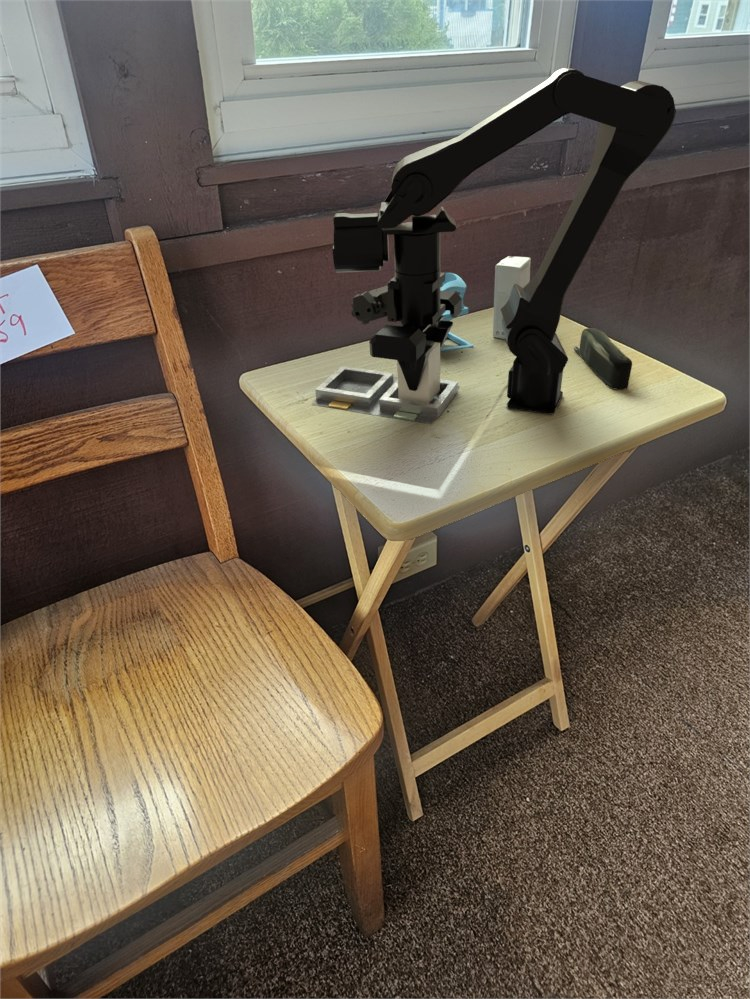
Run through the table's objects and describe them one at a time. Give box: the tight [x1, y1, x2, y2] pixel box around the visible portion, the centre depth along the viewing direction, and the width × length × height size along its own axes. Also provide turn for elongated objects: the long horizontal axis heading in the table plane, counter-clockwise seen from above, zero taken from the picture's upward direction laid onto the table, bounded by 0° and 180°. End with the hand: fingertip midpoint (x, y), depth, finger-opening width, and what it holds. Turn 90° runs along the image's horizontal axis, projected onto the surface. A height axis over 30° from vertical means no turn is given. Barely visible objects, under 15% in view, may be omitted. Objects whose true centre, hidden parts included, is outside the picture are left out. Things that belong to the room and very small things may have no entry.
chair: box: [440, 272, 474, 352], centre depth 107 cm, size 8×8×12 cm
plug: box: [396, 340, 441, 403], centre depth 92 cm, size 5×4×7 cm
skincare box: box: [492, 255, 532, 340], centre depth 111 cm, size 6×4×12 cm
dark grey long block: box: [573, 327, 633, 390], centre depth 100 cm, size 5×3×15 cm
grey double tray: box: [311, 365, 461, 425], centre depth 96 cm, size 18×12×2 cm, turn 66°
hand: (419, 382), depth 93 cm, fingers closed on plug, 4 cm apart
